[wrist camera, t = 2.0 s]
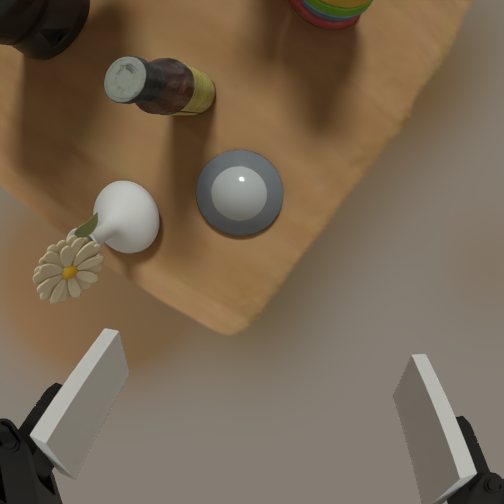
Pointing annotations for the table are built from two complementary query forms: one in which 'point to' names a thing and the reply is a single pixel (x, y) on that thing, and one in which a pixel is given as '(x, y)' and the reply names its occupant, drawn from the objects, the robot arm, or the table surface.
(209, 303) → the table surface
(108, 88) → the sauce bottle
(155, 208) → the flower in vase
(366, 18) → the table surface
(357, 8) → the stacking bear
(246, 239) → the table surface
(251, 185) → the coaster
